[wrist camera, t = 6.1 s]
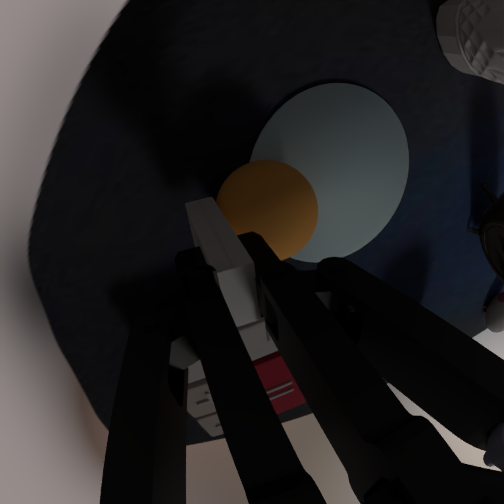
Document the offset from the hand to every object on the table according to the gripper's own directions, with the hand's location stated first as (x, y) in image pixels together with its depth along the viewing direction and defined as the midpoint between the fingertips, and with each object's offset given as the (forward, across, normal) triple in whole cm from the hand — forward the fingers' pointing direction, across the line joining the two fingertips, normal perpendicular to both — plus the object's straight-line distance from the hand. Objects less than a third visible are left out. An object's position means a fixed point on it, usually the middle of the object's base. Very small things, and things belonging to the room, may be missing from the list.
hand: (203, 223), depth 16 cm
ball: (0, +3, 0) cm, 3 cm away
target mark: (+2, +10, 0) cm, 10 cm away
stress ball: (+2, +44, -27) cm, 52 cm away
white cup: (+2, +23, +11) cm, 26 cm away
